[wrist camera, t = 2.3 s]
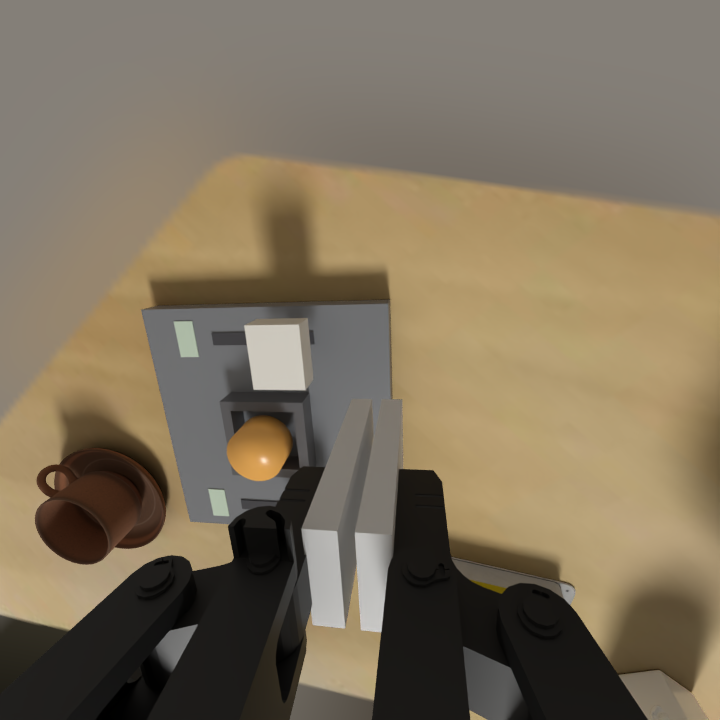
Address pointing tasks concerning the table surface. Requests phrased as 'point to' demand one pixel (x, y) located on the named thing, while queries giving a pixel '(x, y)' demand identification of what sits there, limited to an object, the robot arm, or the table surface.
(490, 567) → the emergency button
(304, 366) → the off-white rectangular box
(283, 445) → the amber button
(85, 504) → the cup and saucer
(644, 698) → the jar
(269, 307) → the control panel
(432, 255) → the table surface
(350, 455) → the robot arm
